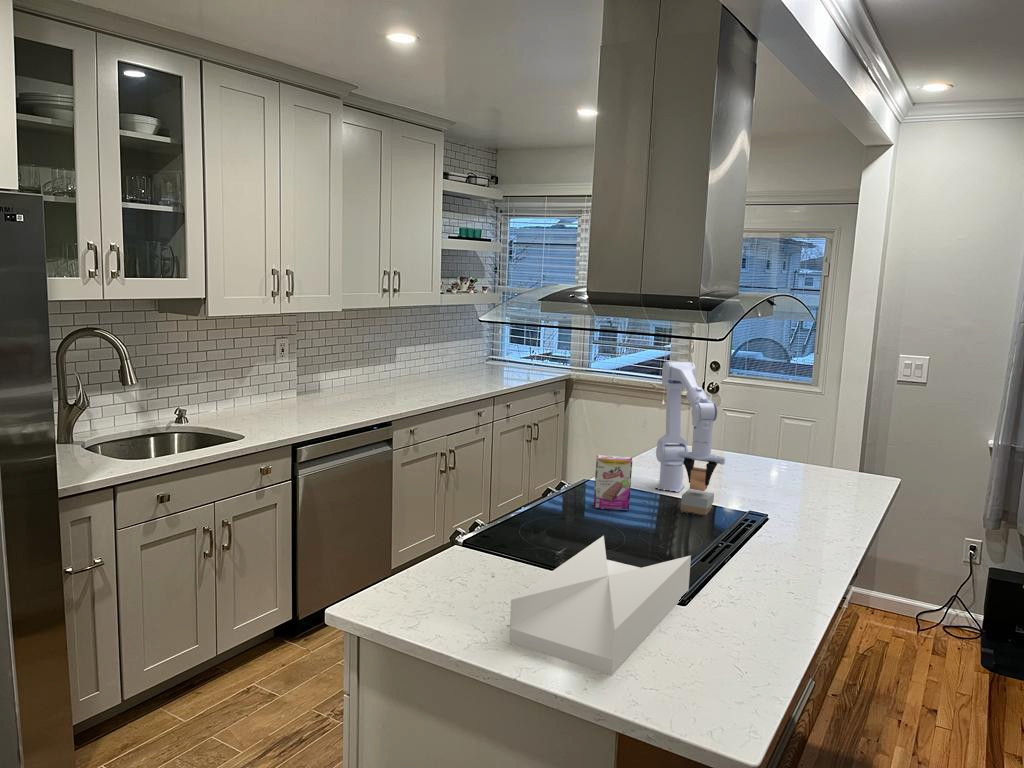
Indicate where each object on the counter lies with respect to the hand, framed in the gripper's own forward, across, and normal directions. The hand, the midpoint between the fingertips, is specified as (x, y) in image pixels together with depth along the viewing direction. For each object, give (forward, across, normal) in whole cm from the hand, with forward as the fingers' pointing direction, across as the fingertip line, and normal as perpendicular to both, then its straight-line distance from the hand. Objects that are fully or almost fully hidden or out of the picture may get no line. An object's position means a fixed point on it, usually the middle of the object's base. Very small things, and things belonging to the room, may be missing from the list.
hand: (698, 483), depth 241 cm
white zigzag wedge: (+10, 0, -84) cm, 85 cm away
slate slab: (+6, 0, 0) cm, 7 cm away
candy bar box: (+9, -24, -12) cm, 28 cm away
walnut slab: (+10, 0, 0) cm, 10 cm away
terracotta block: (+2, 0, 0) cm, 2 cm away
